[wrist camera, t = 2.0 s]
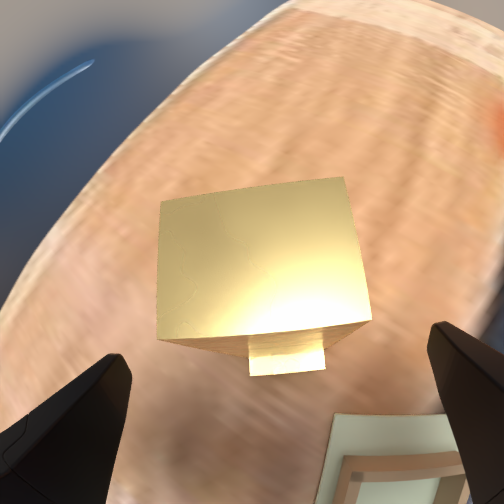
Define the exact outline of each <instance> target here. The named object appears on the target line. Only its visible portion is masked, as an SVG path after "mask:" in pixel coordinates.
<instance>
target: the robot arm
mask: <svg viewBox="0 0 504 504" xmlns="http://www.w3.org/2000/svg"><path fill="white" fill-rule="evenodd" d="M427 353H428V356H429V360H430V363H431V367H432V370H433V374H434V377H435V381H436V385H437V389H438V392H439V396H440V399H441V402H442V404H443V407H444V410H445V413H446V415H447V418H448V421H449V424H450V427H451V430H452V433H453V436H454V439H455V442H456V445H457V448H458V451H459V454H460V458H461V461H462V464H463V468H464V471H465V475H466V478H467V482H468V486H469V490H470V494H471V498H472V502H473V504H504V355H503V354H502V353H500V352H498V351H496V350H495V349H493V348H491V347H490V346H488V345H486V344H485V343H483V342H481V341H480V340H478V339H476V338H474V337H473V336H471V335H469V334H468V333H466V332H464V331H462V330H461V329H459V328H457V327H455V326H454V325H452V324H450V323H448V322H446V321H442V322H438V323H434V324H433V325H432V327H431V331H430V335H429V340H428V344H427ZM131 384H132V373H131V371H130V369H129V367H128V365H127V363H126V361H125V359H124V357H123V356H122V355H121V354H114V353H110V354H107V355H106V356H105V357H103V358H102V359H101V360H99V361H98V362H97V363H95V364H94V365H93V366H91V367H90V368H88V369H87V370H86V371H84V372H83V373H82V374H80V375H79V376H78V377H76V378H75V379H74V380H72V381H71V382H70V383H68V384H67V385H66V386H64V387H63V388H62V389H60V390H59V391H58V392H56V393H55V394H54V395H52V396H51V397H50V398H48V399H47V400H46V401H44V402H43V403H42V404H40V405H39V406H38V407H36V408H35V409H34V410H32V411H31V412H30V413H29V415H28V414H27V415H26V416H24V417H23V418H22V419H20V420H19V421H18V422H16V423H15V424H13V425H12V426H11V427H9V428H8V429H6V430H5V431H3V432H2V433H0V504H106V499H107V494H108V490H109V485H110V481H111V476H112V472H113V468H114V464H115V460H116V455H117V451H118V447H119V444H120V440H121V436H122V432H123V428H124V424H125V420H126V414H127V408H128V402H129V396H130V390H131Z"/></svg>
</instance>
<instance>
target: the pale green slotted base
mask: <svg viewBox="0 0 504 504" xmlns="http://www.w3.org/2000/svg"><path fill="white" fill-rule="evenodd" d="M469 494H470V490H469V486H468V482H467V478H466V475H465V471H464V468H463V464H462V461H461V458H460V454H459V451H458V448H457V445H456V442H455V439H454V436H453V433H452V430H451V427H450V424H449V421H448V418H447V415H446V414H428V415H363V414H343V413H334V417H333V422H332V428H331V433H330V438H329V443H328V448H327V453H326V458H325V463H324V467H323V472H322V476H321V480H320V485H319V489H318V493H317V497H316V501H315V504H466V502H467V500H468V497H469Z"/></svg>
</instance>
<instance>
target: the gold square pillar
mask: <svg viewBox="0 0 504 504" xmlns="http://www.w3.org/2000/svg"><path fill="white" fill-rule="evenodd" d="M371 320H372V317H371V310H370V303H369V297H368V291H367V285H366V279H365V273H364V268H363V262H362V257H361V252H360V247H359V242H358V237H357V232H356V228H355V223H354V219H353V214H352V210H351V206H350V201H349V197H348V193H347V189H346V185H345V181H344V177H335V178H325V179H315V180H306V181H297V182H289V183H280V184H272V185H265V186H257V187H250V188H243V189H236V190H229V191H222V192H216V193H209V194H203V195H197V196H191V197H185V198H179V199H173V200H168V201H162V202H161V207H160V222H159V240H158V265H157V340H161V341H165V342H170V343H174V344H179V345H183V346H188V347H193V348H197V349H202V350H207V351H212V352H218V353H223V354H229V355H234V356H240V357H246V358H249V366H250V376H258V375H271V374H283V373H293V372H302V371H311V370H319V369H325V362H324V352H323V350H325V349H327V348H328V347H330V346H332V345H333V344H335V343H337V342H338V341H340V340H341V339H343V338H344V337H346V336H348V335H349V334H351V333H352V332H354V331H355V330H357V329H358V328H360V327H362V326H363V325H365V324H366V323H368V322H369V321H371Z"/></svg>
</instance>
